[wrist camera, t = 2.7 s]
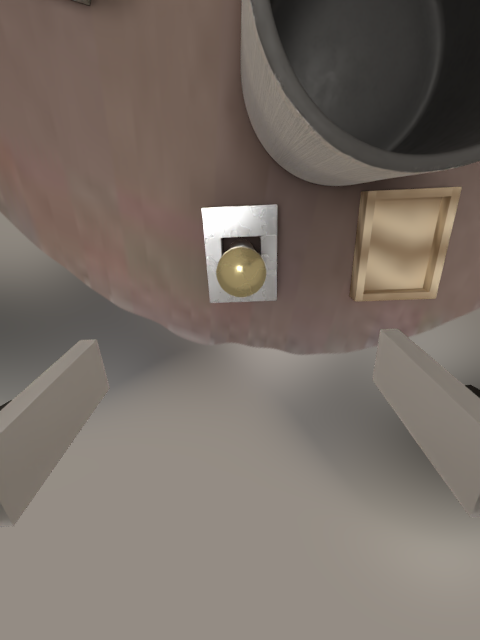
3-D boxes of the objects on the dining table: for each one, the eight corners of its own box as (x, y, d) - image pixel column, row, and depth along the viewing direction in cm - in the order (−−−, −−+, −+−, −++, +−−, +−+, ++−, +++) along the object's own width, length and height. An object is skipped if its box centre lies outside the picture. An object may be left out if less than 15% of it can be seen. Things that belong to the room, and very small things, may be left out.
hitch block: (205, 207, 38) (201, 208, 34) (274, 204, 37) (277, 204, 34) (212, 294, 42) (210, 302, 39) (274, 292, 42) (276, 300, 39)
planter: (489, -38, 28) (942, -469, 10) (396, 203, 37) (546, 210, 19) (267, -103, 27) (319, -754, 8) (224, 164, 36) (204, 130, 17)
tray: (361, 191, 37) (368, 191, 34) (449, 187, 36) (461, 186, 34) (349, 296, 42) (355, 301, 40) (425, 293, 42) (435, 298, 40)
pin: (222, 234, 39) (214, 249, 28) (259, 232, 39) (266, 246, 28) (224, 270, 41) (218, 298, 30) (260, 269, 41) (266, 296, 30)
